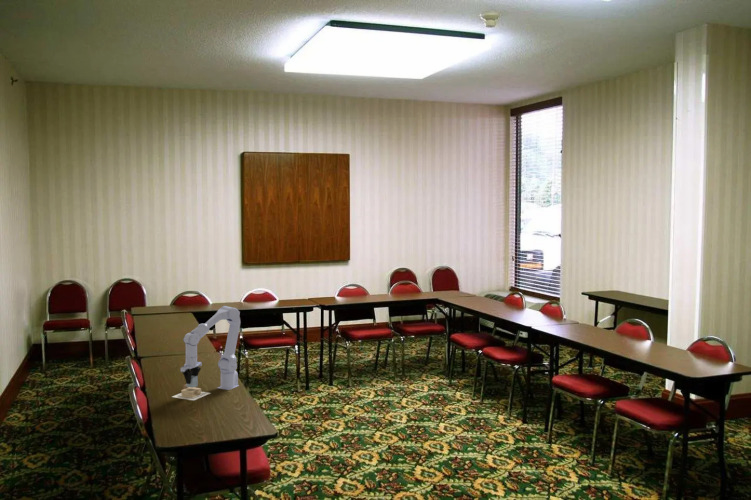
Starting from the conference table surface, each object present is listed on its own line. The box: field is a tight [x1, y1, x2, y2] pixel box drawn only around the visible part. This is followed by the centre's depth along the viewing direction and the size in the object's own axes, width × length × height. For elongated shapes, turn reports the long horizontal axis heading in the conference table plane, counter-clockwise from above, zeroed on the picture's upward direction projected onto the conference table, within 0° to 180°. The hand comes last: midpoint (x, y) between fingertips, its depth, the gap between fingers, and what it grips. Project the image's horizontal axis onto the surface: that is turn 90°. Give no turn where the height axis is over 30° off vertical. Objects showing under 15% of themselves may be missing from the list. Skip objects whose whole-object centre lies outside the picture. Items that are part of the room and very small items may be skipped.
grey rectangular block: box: [185, 375, 199, 388], centre depth 329 cm, size 4×4×5 cm
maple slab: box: [180, 387, 202, 398], centre depth 329 cm, size 7×7×3 cm
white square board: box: [171, 391, 211, 401], centre depth 329 cm, size 14×14×1 cm
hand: (191, 382), depth 329 cm, fingers closed on grey rectangular block, 4 cm apart
